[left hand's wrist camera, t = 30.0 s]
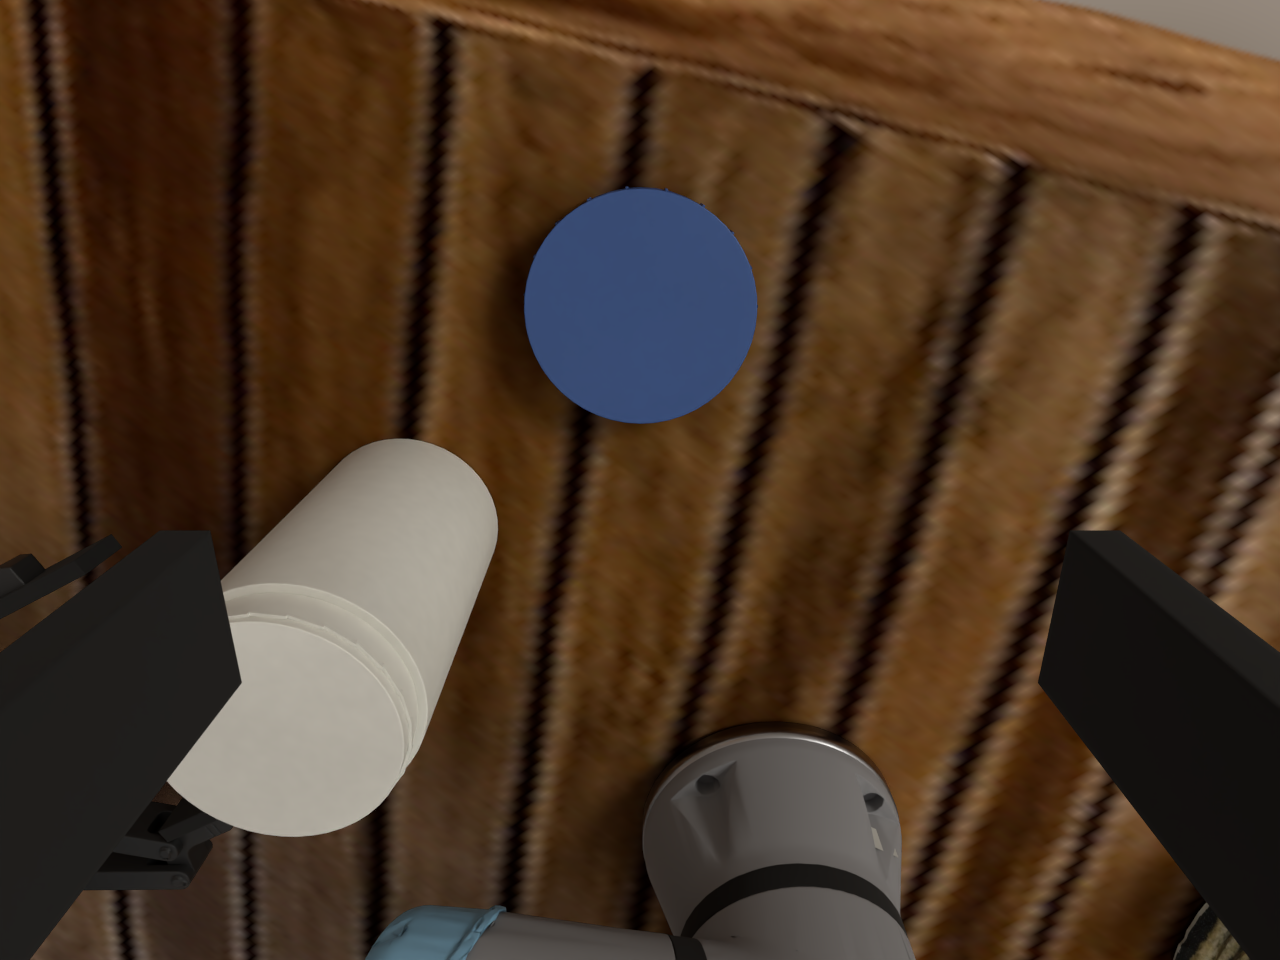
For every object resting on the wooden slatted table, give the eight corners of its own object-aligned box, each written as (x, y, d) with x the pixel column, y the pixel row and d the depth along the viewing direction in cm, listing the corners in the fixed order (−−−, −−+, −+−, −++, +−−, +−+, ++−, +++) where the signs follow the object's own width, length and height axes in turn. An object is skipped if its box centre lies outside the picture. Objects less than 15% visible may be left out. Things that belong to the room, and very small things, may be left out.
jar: (531, 503, 42) (466, 708, 26) (441, 629, 45) (332, 884, 29) (373, 403, 40) (200, 559, 24) (289, 541, 43) (83, 762, 27)
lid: (519, 397, 40) (513, 409, 38) (538, 170, 36) (532, 170, 34) (730, 425, 41) (735, 438, 39) (770, 203, 37) (778, 205, 35)
